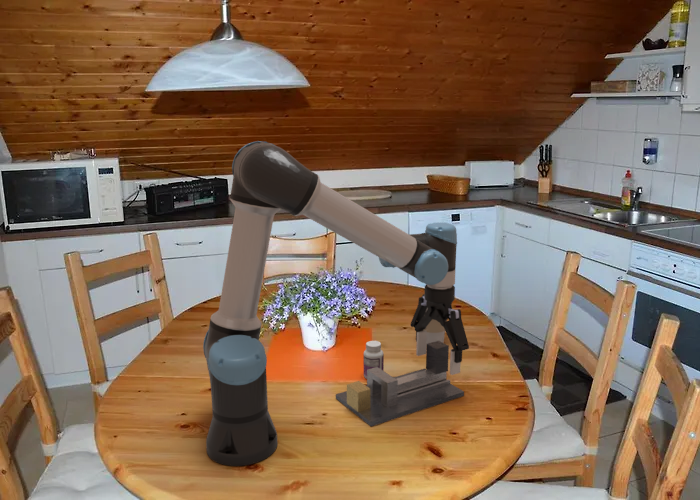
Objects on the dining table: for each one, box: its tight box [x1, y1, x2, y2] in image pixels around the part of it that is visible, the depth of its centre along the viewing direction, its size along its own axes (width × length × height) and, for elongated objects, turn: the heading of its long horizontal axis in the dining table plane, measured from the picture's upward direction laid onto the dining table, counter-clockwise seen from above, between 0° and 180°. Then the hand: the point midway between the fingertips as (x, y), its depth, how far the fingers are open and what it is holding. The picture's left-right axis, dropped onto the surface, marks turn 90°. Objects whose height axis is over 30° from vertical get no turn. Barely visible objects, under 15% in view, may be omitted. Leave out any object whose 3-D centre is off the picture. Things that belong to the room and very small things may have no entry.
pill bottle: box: [363, 340, 385, 380], centre depth 164 cm, size 5×5×10 cm
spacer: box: [346, 380, 370, 412], centre depth 147 cm, size 5×5×4 cm
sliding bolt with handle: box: [397, 341, 450, 395], centre depth 155 cm, size 16×4×10 cm, turn 121°
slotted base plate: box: [335, 367, 465, 428], centre depth 153 cm, size 28×16×8 cm, turn 121°
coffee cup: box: [421, 293, 446, 345], centre depth 187 cm, size 9×9×15 cm
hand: (437, 363), depth 158 cm, fingers open, 13 cm apart
